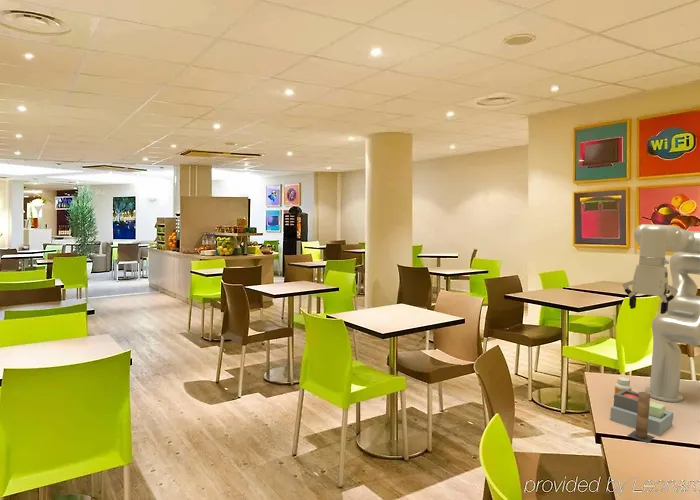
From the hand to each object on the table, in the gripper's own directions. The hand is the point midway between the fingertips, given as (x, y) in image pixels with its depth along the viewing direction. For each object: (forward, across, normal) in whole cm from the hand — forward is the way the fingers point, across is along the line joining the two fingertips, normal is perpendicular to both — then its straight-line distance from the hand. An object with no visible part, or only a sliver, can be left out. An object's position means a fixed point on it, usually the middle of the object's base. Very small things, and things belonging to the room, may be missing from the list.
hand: (647, 310), depth 177 cm
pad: (+37, -8, +21) cm, 43 cm away
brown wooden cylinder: (+36, -8, +21) cm, 43 cm away
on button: (+34, -8, +10) cm, 36 cm away
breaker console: (+37, -4, +10) cm, 38 cm away
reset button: (+33, 0, +10) cm, 35 cm away
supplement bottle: (+37, +7, -3) cm, 38 cm away
